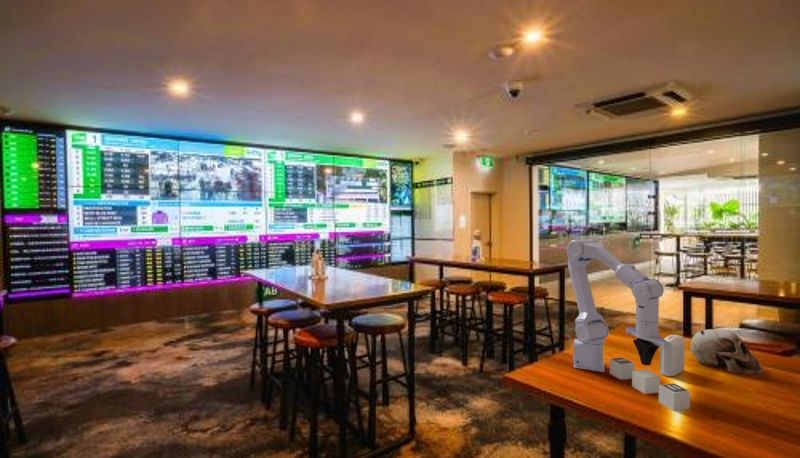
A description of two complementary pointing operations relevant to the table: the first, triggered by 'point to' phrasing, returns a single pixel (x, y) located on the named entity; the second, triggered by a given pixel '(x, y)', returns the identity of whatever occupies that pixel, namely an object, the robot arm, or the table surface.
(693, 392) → the table surface
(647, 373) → the plain block
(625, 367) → the marked block 1
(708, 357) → the grey skull
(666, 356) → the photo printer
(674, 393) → the marked block 2
